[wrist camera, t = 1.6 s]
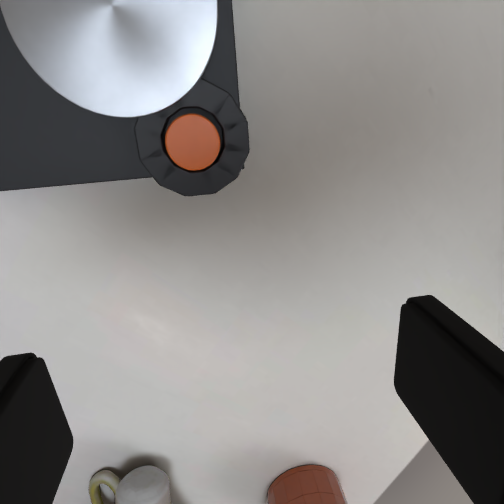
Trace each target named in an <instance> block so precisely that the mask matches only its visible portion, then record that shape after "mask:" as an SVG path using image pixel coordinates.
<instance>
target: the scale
mask: <svg viewBox="0 0 504 504" xmlns="http://www.w3.org/2000/svg"><path fill="white" fill-rule="evenodd" d="M190 113H194V114H199V115H202V116H204V117H206V118H207V119H208V120H210V121H211V122H212V123H213V125H214V126H215V127H216V129H217V131H218V133H219V137H220V150H219V153H218V156H217V158H216V159H215V161H214V162H213V163H212V164H211V165H210V166H208V167H206V168H204V169H201V170H195V171H193V170H187V169H184V168H182V167H180V166H178V165H177V164H176V163H174V162H173V160H172V159H171V158H170V156H169V155H168V153H167V150H166V146H165V136H166V132H167V129H168V127H169V125H170V124H171V123H172V122H173V121H174V120H175V119H176V118H178V117H179V116H182V115H185V114H190ZM249 150H250V149H249V135H248V122H247V121H246V117H245V116H244V114H243V113H242V111H241V109H240V103H239V90H238V76H237V63H236V50H235V36H234V23H233V10H232V0H218V25H217V34H216V39H215V44H214V48H213V52H212V55H211V58H210V61H209V63H208V65H207V67H206V69H205V71H204V73H203V75H202V76H201V78H200V79H199V81H198V82H197V84H196V85H195V86H194V87H193V88H192V90H191V91H190V92H189V93H188V94H187V95H186V96H184V97H183V98H182V99H181V100H180V101H178V102H177V103H175V104H174V105H172V106H171V107H169V108H167V109H165V110H163V111H160V112H158V113H155V114H151V115H148V116H142V117H135V118H118V117H110V116H105V115H101V114H97V113H94V112H91V111H89V110H86V109H84V108H81V107H79V106H77V105H76V104H74V103H72V102H70V101H68V100H67V99H65V98H64V97H62V96H61V95H60V94H58V93H57V92H55V91H54V90H53V89H52V88H51V87H50V86H48V85H47V84H46V83H45V82H44V81H43V80H42V79H41V78H40V77H39V76H38V75H37V74H36V73H35V71H34V70H33V69H32V68H31V67H30V65H29V64H28V63H27V61H26V60H25V59H24V57H23V56H22V54H21V52H20V51H19V49H18V47H17V46H16V44H15V42H14V40H13V38H12V36H11V34H10V32H9V30H8V28H7V25H6V22H5V19H4V16H3V14H2V11H1V6H0V191H8V190H19V189H30V188H41V187H52V186H62V185H73V184H84V183H95V182H106V181H117V180H128V179H139V178H150V177H153V178H154V179H155V180H156V182H157V183H158V184H159V185H160V186H163V187H165V188H167V189H170V190H172V191H174V192H177V193H179V194H181V195H184V196H197V195H207V194H214V193H216V192H218V191H219V190H221V189H222V188H224V187H225V186H226V185H228V184H229V183H231V182H232V181H233V180H235V179H236V178H237V177H238V175H239V173H240V171H241V169H244V162H245V160H246V158H247V156H248V154H249Z"/></svg>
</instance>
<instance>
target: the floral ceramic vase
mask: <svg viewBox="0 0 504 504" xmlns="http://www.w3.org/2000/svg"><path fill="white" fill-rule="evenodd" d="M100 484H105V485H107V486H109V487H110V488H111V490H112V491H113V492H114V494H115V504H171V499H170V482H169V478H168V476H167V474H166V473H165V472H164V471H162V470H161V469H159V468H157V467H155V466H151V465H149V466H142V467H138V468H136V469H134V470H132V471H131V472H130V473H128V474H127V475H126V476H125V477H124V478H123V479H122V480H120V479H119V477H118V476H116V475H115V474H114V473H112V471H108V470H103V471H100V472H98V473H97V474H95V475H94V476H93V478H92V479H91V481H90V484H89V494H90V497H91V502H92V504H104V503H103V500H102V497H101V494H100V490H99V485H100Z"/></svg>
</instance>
